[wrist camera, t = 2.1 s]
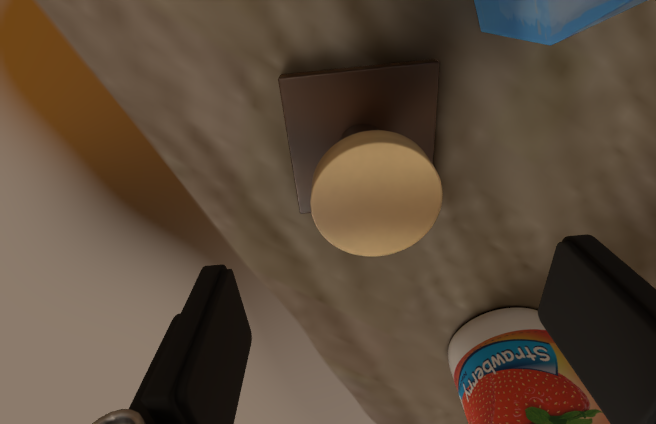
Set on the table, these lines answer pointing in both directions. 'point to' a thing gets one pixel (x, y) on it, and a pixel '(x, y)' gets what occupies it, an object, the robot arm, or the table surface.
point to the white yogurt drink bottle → (516, 373)
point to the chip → (375, 193)
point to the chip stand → (356, 110)
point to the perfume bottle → (546, 17)
